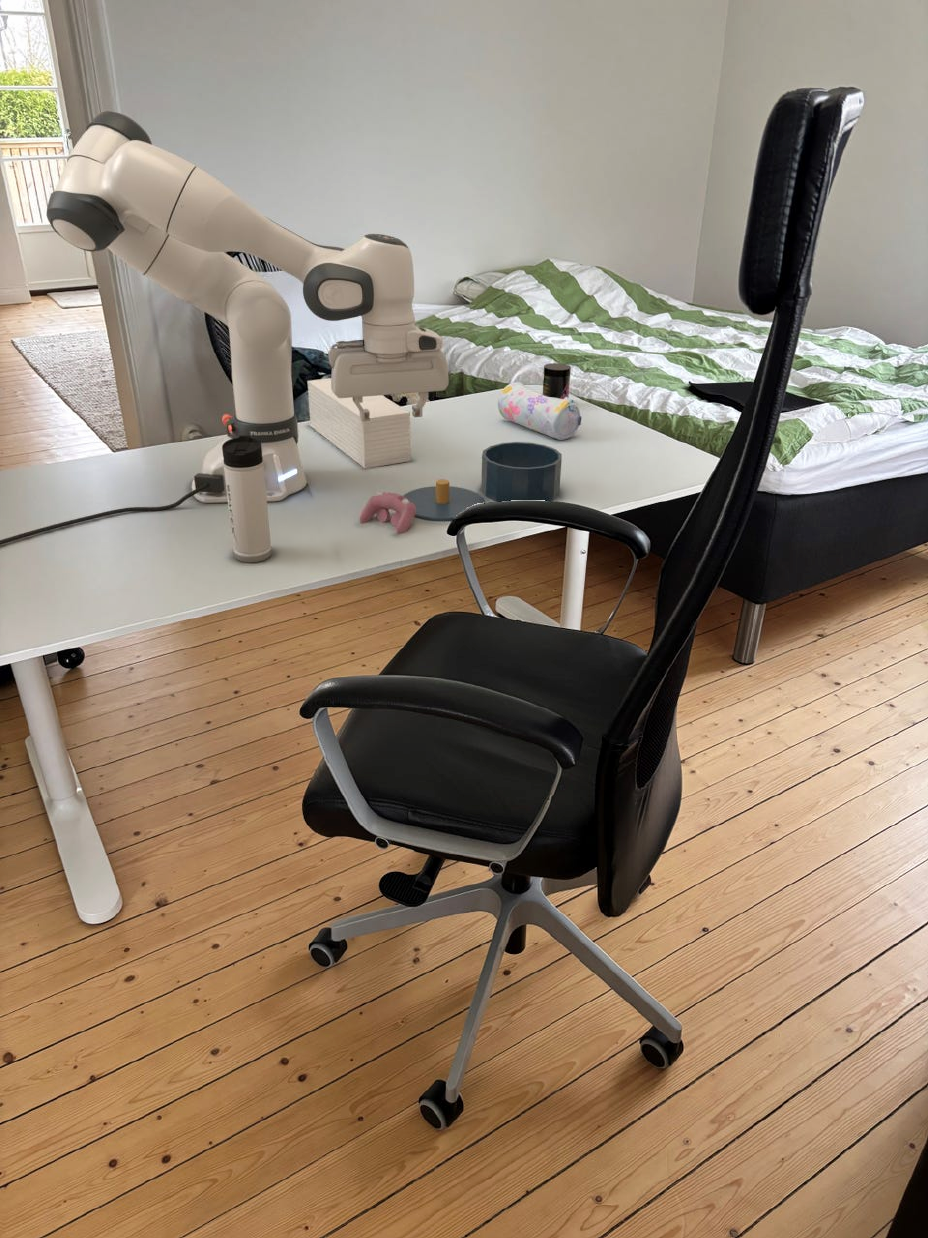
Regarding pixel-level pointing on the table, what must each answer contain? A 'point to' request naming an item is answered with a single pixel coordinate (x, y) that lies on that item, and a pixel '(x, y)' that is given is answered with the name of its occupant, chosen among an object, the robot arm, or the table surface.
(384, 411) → the stack of papers
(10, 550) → the table surface
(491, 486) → the tin
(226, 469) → the travel mug
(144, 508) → the robot arm
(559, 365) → the supplement container
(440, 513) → the tin lid
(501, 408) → the pencil case
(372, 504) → the pink curved piece
